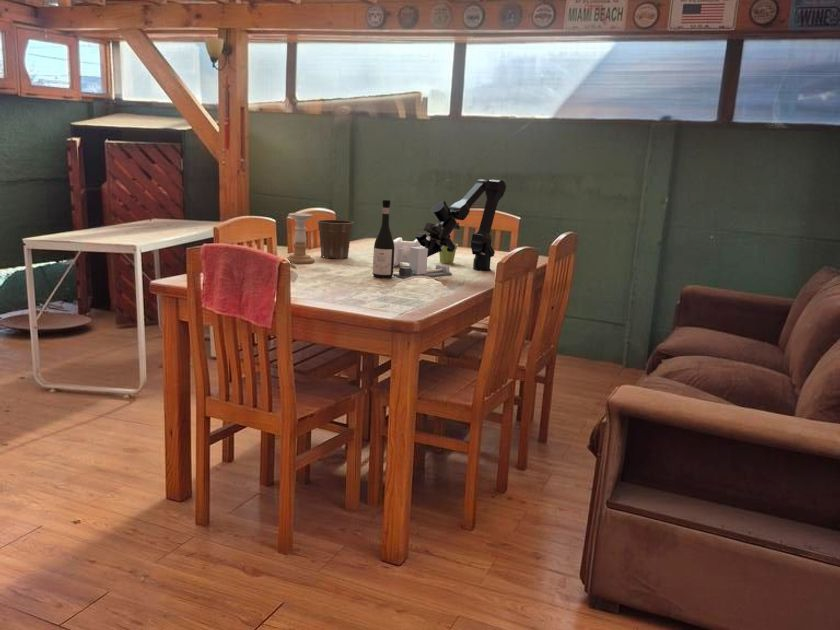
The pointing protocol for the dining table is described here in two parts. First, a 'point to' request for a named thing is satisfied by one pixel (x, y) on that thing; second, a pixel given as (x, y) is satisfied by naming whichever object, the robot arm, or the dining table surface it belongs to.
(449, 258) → the plant pot
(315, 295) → the dining table surface
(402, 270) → the cord comb board
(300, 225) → the candle holder
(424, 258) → the open-bottomed white box
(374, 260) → the wine bottle
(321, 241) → the plant pot
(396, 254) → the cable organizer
